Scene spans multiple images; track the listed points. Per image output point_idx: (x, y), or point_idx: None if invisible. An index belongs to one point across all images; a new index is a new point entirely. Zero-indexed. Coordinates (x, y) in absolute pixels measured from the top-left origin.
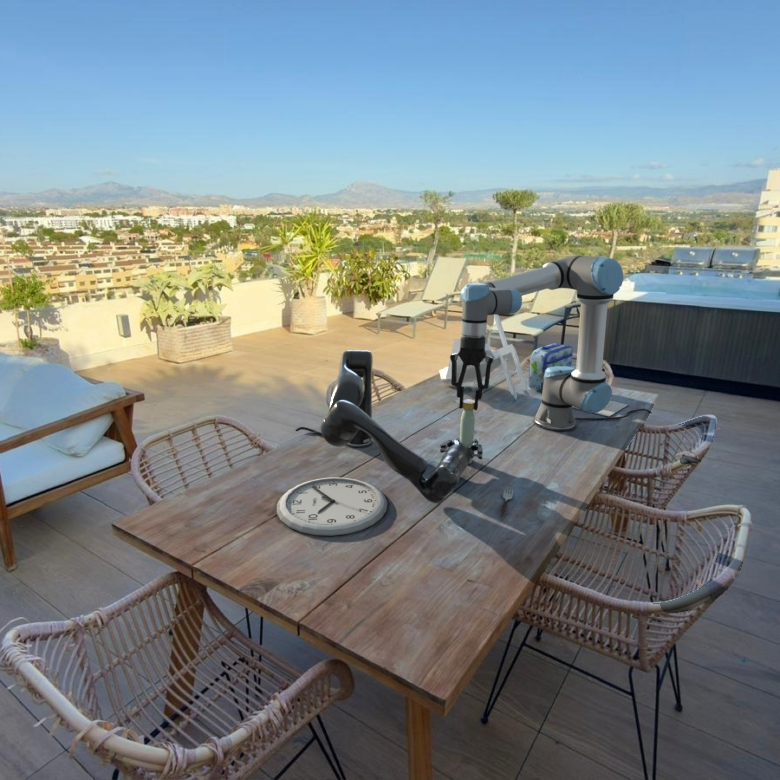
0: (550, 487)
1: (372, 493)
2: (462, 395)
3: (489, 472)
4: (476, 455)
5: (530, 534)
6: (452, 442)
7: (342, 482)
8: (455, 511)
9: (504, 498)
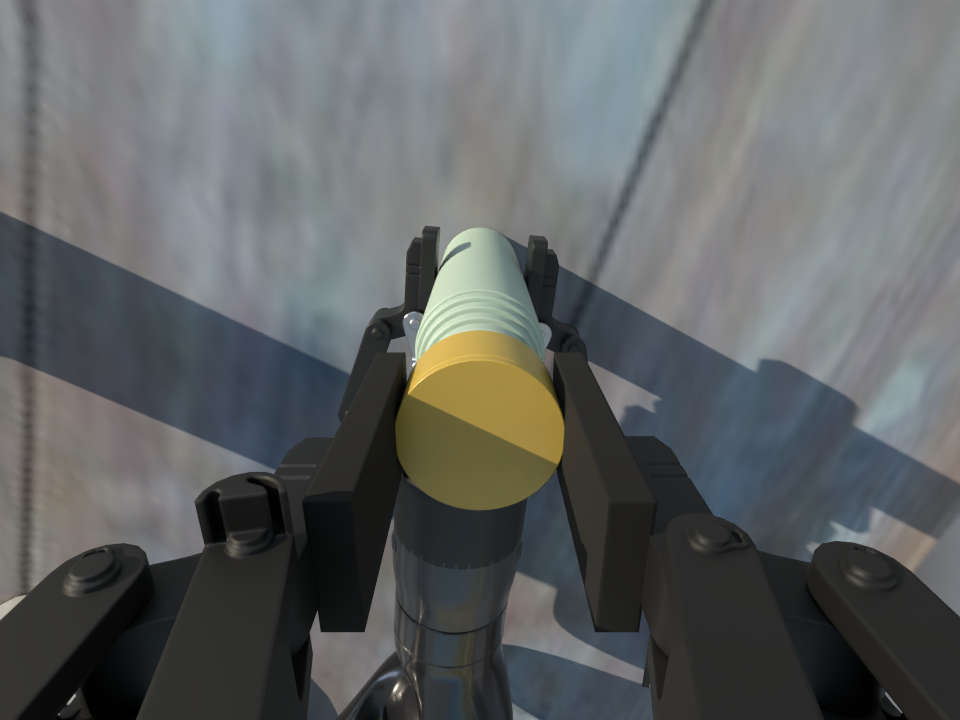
0: (880, 416)
1: None
2: (384, 539)
3: (613, 355)
4: None
5: None
6: (395, 334)
7: None
8: (506, 657)
9: None
